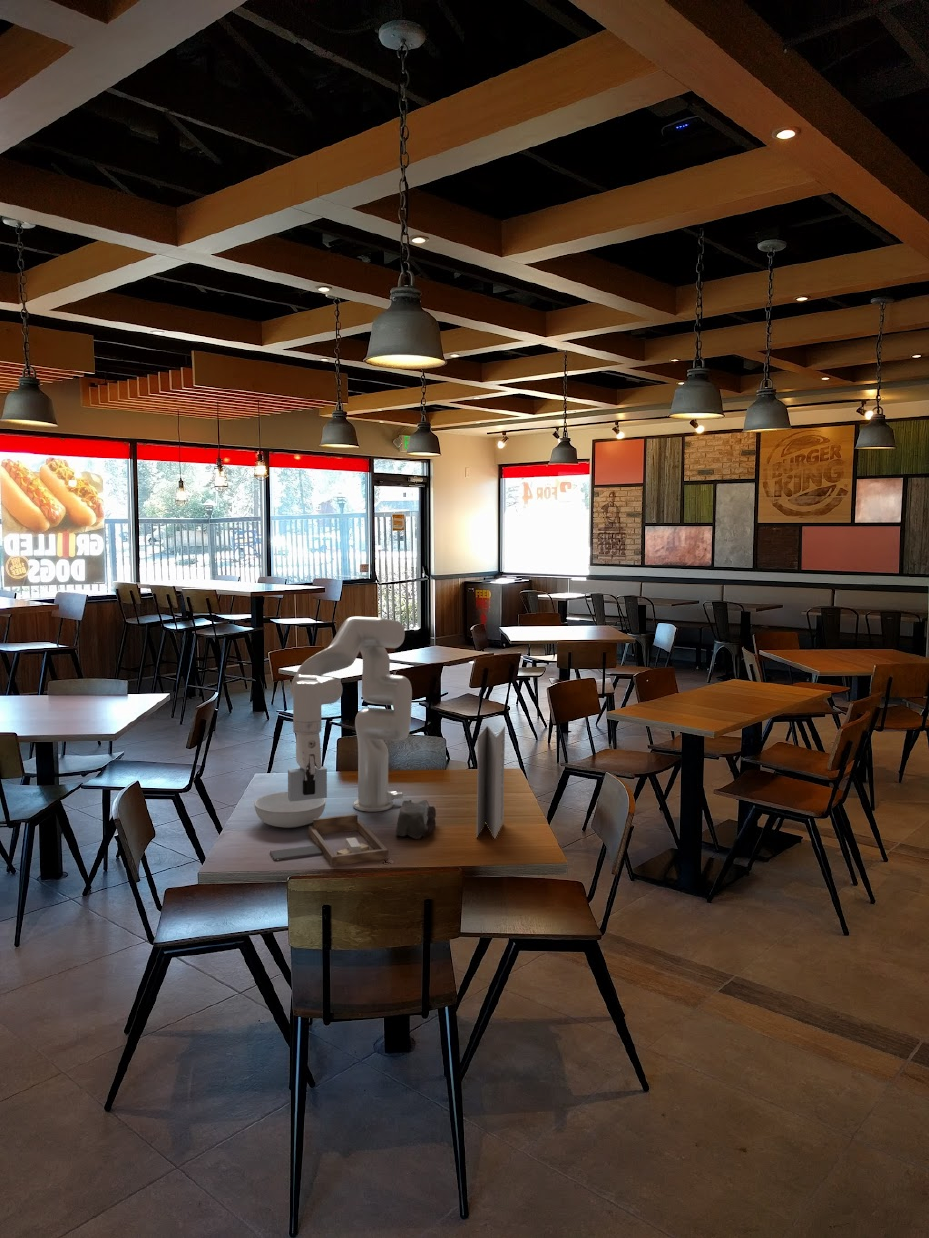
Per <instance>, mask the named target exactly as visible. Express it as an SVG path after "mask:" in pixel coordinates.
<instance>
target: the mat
mask: <svg viewBox="0 0 929 1238" xmlns="http://www.w3.org/2000/svg"><path fill="white" fill-rule="evenodd" d="M269 854H270V856H271V855H272V856H271V858H272V857H273V858H274V859H273V858H272V859H273V861H274V860H277V859H285V860H291V859H292V858H293V859H299V858H308V857H313V856H314V857H316V856H321V855H323V853H322V851H321V850H320V849H319V847H318V846H317V845H316V844H315V845H308V846H301V847H293V848H283V849H276V850H270V851H269ZM290 858H291V859H290ZM277 861H278V860H277Z"/></svg>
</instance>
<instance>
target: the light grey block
mask: <svg viewBox="0 0 929 1238" xmlns="http://www.w3.org/2000/svg"><path fill="white" fill-rule="evenodd" d="M307 769H309V768H308V767H307ZM308 772H309V771H308ZM308 772H307V773H308ZM327 772H328V770H327V768H326V767H325V766H321V768H320V769H318V768H317V767H316V766H315V794H311V795H304V794H303V780H304V769H302V768H301V769H300V768H291V769H287V792H288V799H289V800H290V802H291V801H301V800H310V799H320V798H324V799H328V797H327V796H328V795H327V793H328V779H327V778H328V773H327Z"/></svg>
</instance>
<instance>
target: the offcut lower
mask: <svg viewBox="0 0 929 1238" xmlns="http://www.w3.org/2000/svg"><path fill="white" fill-rule="evenodd" d="M359 844H360V845H361V852H363V851H370V845H368V844H365V843H359ZM348 853H351V852H350V851H349V849H348V847H347V848H343V849H340V850H337V851H336V855H340V854H348Z"/></svg>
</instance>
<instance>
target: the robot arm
mask: <svg viewBox="0 0 929 1238" xmlns="http://www.w3.org/2000/svg"><path fill="white" fill-rule="evenodd" d="M405 633H406V631H405V627H404V625H403V624H402V623H401V621H399V620H396V619H388V618H384V617H383V618H382V617H375V616H374V617H373V616H359V615H358V616H351V617H350V616H349V617H348V618H346V619H345V620H344V621H343V623H342V624H341V625H340V627H339V629H338V630H337V632H336V634H335V636H334V638H332V641H331V642H330V644H329V646H328V647H327V648H324V649H322V650H321V651H318V652H317V653H315V654H314V655H312V656H310V657H309V658H307V659H306V660H305V661H303V662H302V664H300V666H299V668H298V669H297V671H296V673H295V675H294V677H293V679H292V680H291V683H290V694H291V696H292V698H293V699H292V706H293V708H292V709H293V711H292V713H293V714H292V721H293V723H292V725H293V726H292V731H293V733H294V734H296V736H295V737H296V738H295V739H296V740H295V759H296V760H295V761H296V764H297V765H298V766H299V769H301V768H302V769H304V780H303V794H304V795H311V794H315V767H317V768H318V769H320V768H321V767H322V752H321V751H322V750H321V748H322V747H321V738H320V733H321V732H322V705H330V704H334V703H336V702H338V701H339V700H340V698H341V697H342V695H343V685H342V682H341V681H340V679H338V678H336V677H334V676H325V675H326V674H329V673H332V672H333V673H334V672H337V671H341V670H344V669H346V668H349V667H350V666H352V665H353V664H354V662H355V661H356V659H357V657H358V655H359V653H360V654H361V656H362V657H361V658H362V675H361V676H362V677H361V696H362V700H363V701H364V702H366V703H369V704H375V705H386V706H392V707H393V708H392V709H389V708H379V707H377V708H376V707H366V708H362V709H361V710H359V711H358V712H357V714H356V716H355V718H354V719H355V720H354V726H355V732H356V738H357V747H358V748H357V751H358V752H357V755H358V757H357V758H358V759H357V760H358V762H357V763H358V765H357V766H358V767H357V768H358V769H357V770H358V771H357V773H358V775H357V782H358V783H357V790H358V791H357V792H358V793H357V795H358V796H357V799H356V800H353V805H352V806H353V808H355V809H356V810H358V811H361V812H370V813H371V812H382V811H388V810H389V809H391V808H392V807H393V806H394V800H398V799H399V800H400V799H403V797H404V795H403V792H397V791H390V790H389V750H388V747H387V745H386V743H385V741H404V740H406V739H407V738H408V737H409V735H410V732H411V731H410V730H411V723H412V721H411V720H412V702H413V701H412V699H413V698H412V697H413V689H412V683H411V681H410V680H409V678H407V677H406V676H404V675H399V674H391V672H390V667H391V666H390V664H391V659H390V655H389V653H388V652H387V651H388V650H387V649H397V648H399V647H400V646H401V645H402V644H403V643H404V640H405V637H406V634H405ZM386 648H387V649H386ZM307 768H309V769H307ZM308 771H309V772H308ZM307 772H308V773H307Z"/></svg>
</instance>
